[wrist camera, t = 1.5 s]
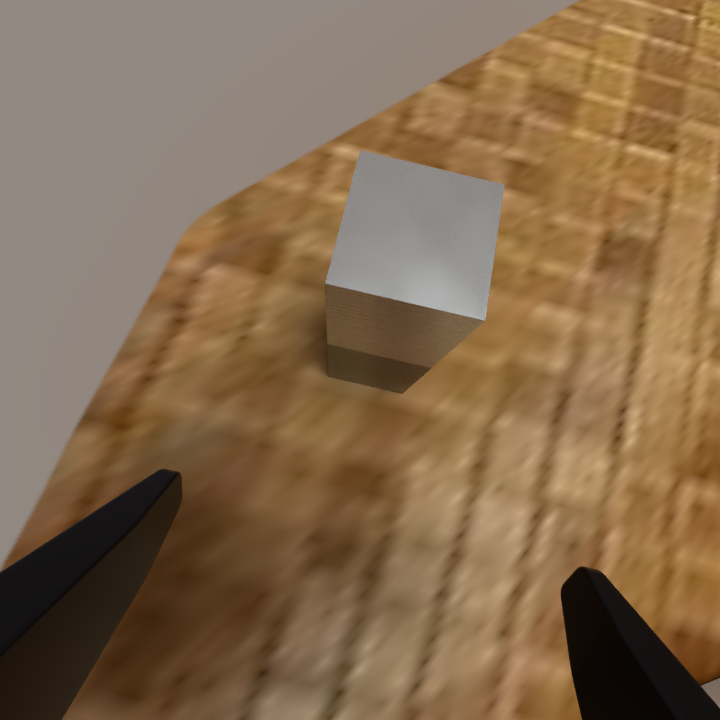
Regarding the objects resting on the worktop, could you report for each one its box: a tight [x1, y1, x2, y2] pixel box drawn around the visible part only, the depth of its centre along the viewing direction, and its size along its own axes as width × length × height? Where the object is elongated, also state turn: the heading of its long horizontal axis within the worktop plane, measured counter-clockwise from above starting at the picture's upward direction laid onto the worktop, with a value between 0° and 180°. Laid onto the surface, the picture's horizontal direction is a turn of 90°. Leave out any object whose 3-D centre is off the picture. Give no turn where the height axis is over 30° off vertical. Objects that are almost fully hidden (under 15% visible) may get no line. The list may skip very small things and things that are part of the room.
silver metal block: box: [325, 150, 504, 394], centre depth 18 cm, size 5×5×13 cm
